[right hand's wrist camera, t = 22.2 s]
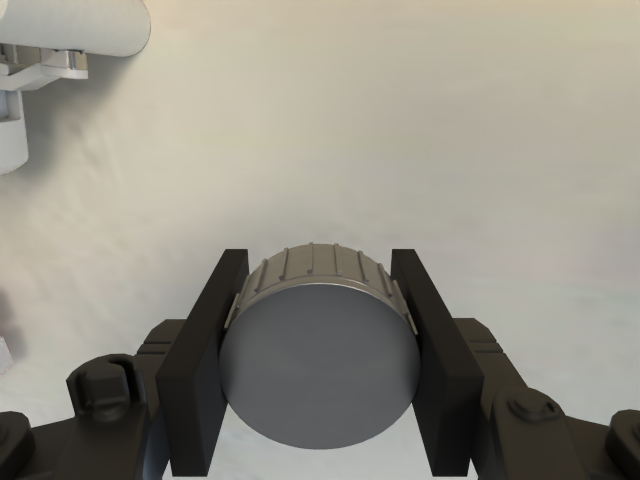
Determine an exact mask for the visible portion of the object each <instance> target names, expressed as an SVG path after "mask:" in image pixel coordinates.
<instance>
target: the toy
mask: <svg viewBox="0 0 640 480" xmlns="http://www.w3.org/2000/svg"><path fill="white" fill-rule="evenodd" d="M13 363H14V362H13V360H12V357H11V355H10V352H9V350H8V347H7V345H6V342H5V340H4V338H3V336H0V377H1V376H2V375H3V374H4V373H5V372H6V371H7V370H8V369H9V368H10V366H11V365H12V364H13Z"/></svg>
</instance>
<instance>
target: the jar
mask: <svg viewBox="0 0 640 480" xmlns="http://www.w3.org/2000/svg"><path fill="white" fill-rule="evenodd" d="M149 35H150V17H149V13H148V11H147V8H146V6H145V4H144V3H143V1H142V0H0V43H6V44H15V45H24V46H32V47H41V48H50V49H59V50H71V51H80V52H86V53H94V54H102V55H111V56H120V57H126V56H131V55H134V54H136V53H138V52H139V51H140V50H141V49H142V48H143V47H144V46H145V44H146V43H147V41H148V38H149Z"/></svg>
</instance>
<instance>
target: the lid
mask: <svg viewBox="0 0 640 480" xmlns="http://www.w3.org/2000/svg"><path fill="white" fill-rule="evenodd" d="M223 330H224V331H226V332H225V335H224V337H223V340H222V343H221V345H220V350H219V355H218V363H219V373H220V382H221V388H222V391H223V393H224V395H225V398H226V400H227V401H228V403H229V405H230V406H231V408H232V409H233V410H234V412H235V413H236V414H237V415H238V416H239V417H240V418H241V419H242V420H243V421H244V422H245V423H246V424H247V425H248V426H250V427H251V428H252V429H254V430H255V431H257V432H258V433H260V434H262V435H264V436H265V437H267V438H269V439H272V440H274V441H276V442H279V443H282V444H286V445H289V446H293V447H298V448H305V449H334V448H341V447H346V446H351V445H354V444H357V443H360V442H363V441H365V440H368V439H370V438H372V437H374V436H376V435H378V434H380V433H381V432H383V431H384V430H386V429H387V428H388V427H390V426H391V425H393V424H394V423H395V422H396V421H397V420H398V419H399V418H400V417H401V416H402V415H403V413H404V412H405V411H406V410H407V409H408V407H409V405H410V404H411V402H412V401H413V399H414V397H415V394H416V392H417V390H418V387H419V379H420V370H421V352H420V347H419V344H418V341H417V338H418V332H417V330H416V327H415V324H414V322H413V319H412V317H411V314H410V312H409V309H408V306H407V304H406V301H405V299H403V296H402V293H401V291H400V288H399V286H398V283H397V281H396V280H394V281H393V280H392V278H391V277H390V276H389V275H388V273H387V272H386V271H385V270H384V268H383V265H382V264H381V263H379V264H377V263H376V262H375V261H373V260H372V259H370V258H369V257H367V256H365V255H363V252H362V251H360V250H359V251H358V252H357V251H355V250H352V249H349V248H346V247H342V246H339V244H336V243H335V244H334V245H329V244H313V242H312V243H309V245H302V246H298V247H294V248H290V249H288V248H285V249H284V251H283V252H280V253H278V254H276V255H274V256H273V257H271V258H269V259H268V260H267V259H264V260H263V261H262V264H261V265H260V266H259V267H258V268H257V269H256V270H255V271H254V272H253V273H252V274H251V275H249V274H248V275H247V276H246V279H245V281H244V284H243V287H242V289H241V292H240V294H238V293H237V294H236V297H235V299H234V302H233V304H232V307H231V310H230V312H229V315H228V317H227V320H226V322H225V325H224V328H223Z"/></svg>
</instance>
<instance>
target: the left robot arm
mask: <svg viewBox="0 0 640 480" xmlns="http://www.w3.org/2000/svg"><path fill="white" fill-rule="evenodd" d="M40 59H41V62H39V63H36V64H34V65H32V66H31V65H25V64H19V63H18V60H17V52H16V45H15V44H6V43H0V175H4V174H7V173H9V172H12V171H14V170H16V169H17V168H19V167H20V166H21V165H23V164H24V163H25V162H26V161H27V160H28V157H29V155H28V145H27V137H26V128H25V120H24V111H23V103H22V94H21V91H23V90H37V89H39V88H41V87H43V86H45V85H47V84H49V83H51V82H53V81H55V80H56V79H58V78H60V77H62V78H69V79H88V67H87V53H86V52H80V51H71V50H59V49H50V48H41V47H40Z"/></svg>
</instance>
